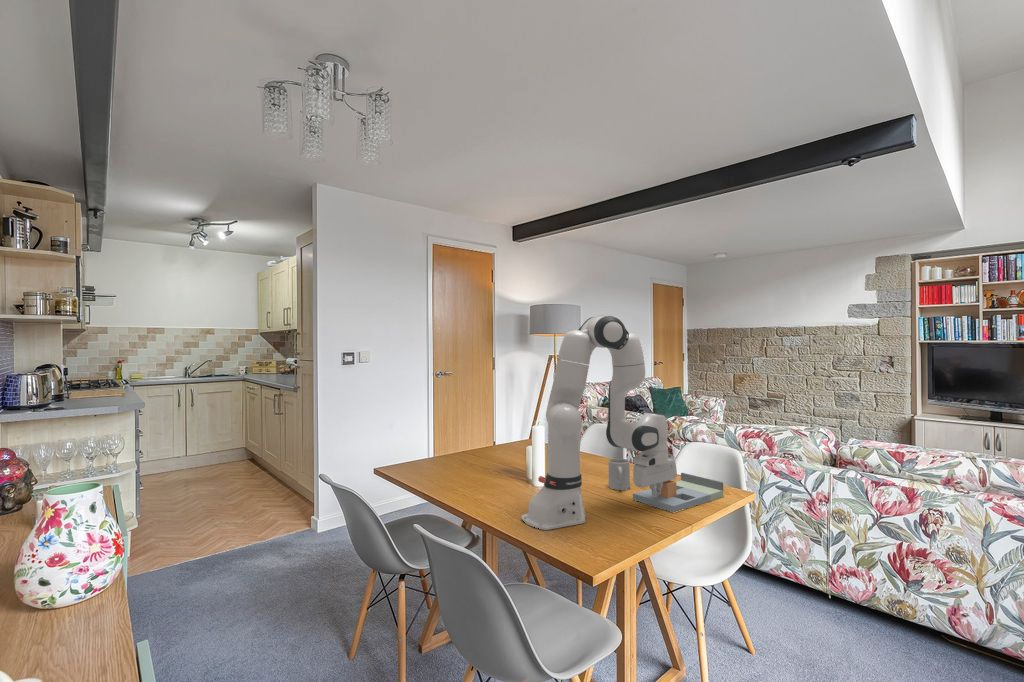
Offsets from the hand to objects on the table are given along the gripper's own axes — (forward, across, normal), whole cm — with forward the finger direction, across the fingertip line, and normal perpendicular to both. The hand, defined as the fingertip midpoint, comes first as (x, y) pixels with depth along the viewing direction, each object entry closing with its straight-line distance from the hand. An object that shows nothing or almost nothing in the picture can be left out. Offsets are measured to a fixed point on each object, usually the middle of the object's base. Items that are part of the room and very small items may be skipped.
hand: (656, 495), depth 173 cm
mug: (+4, -5, -22) cm, 23 cm away
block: (+1, -6, 0) cm, 6 cm away
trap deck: (+4, -13, 0) cm, 13 cm away
